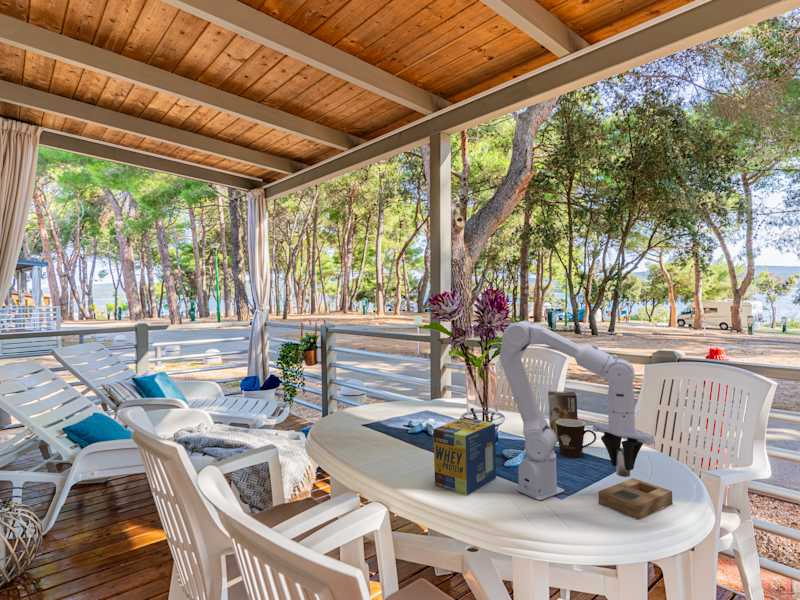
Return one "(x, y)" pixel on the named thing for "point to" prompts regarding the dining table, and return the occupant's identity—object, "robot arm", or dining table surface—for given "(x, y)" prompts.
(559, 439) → the coffee mug
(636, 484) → the block
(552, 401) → the coffee box
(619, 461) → the pin
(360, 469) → the dining table surface
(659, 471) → the dining table surface
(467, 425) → the protein box
